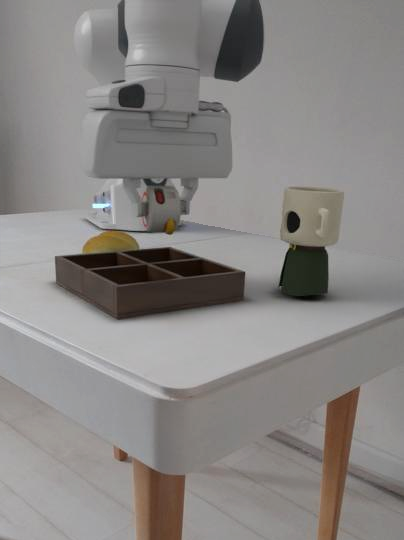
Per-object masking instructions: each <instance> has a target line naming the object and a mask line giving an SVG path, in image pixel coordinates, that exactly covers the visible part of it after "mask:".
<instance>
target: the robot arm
mask: <svg viewBox="0 0 404 540" xmlns="http://www.w3.org/2000/svg"><path fill="white" fill-rule="evenodd" d="M265 24H266V23H265V20H264V15H263V9H262V5H261V2H260V0H120V1H119V2H118V4H117V8H113V7H108V8H97V9H89V10H85V11H84V12H82V14H81V16H80V17H79V18H78V20H77V22H76V24H75V26H74V30H73V47H74V51H75V54H76V56H77V59H78V61H79V62H80V64H81V65H82V67H84V69H85V70H86V71H87V72H89V73H90V74H91V75H92V77H94V78H95V79H96V81H97V82H98V83H99V85H100V86H97V87H96V86H95V87H93V88H90V89H88V90H86V92H85V104H86V107H87V108H88V109H90V110H91V111H89V112H88V113H87V114H86V115H85V117H84V118H83V122H82V126H81V134H80V167H81V169H82V171H83V172H84V174H85V175H86V176H87V177H88V178H92V179H100V180H101V179H102V180H103V179H104V180H106V179H107V180H106V181H105V182H104V184H103V185H102V186H101V188H100V189H99V190H98V191H97V193H95V194H94V195H93V203H92V208H93V209H96V212H95V213H88V214H86V215H85V219H86V220H87V221H88V222H90V223H92V224H93V225H95V226H97V227H98V228H99V229H102V230H118V231H120V230H121V231H131V232H133V231H134V232H147V231H146V230H145V228H144V225H143V221H142V217H147V216H148V211H147V209H148V202H143V201H142V195H143V191H144V189H145V188H146V187H147V186H173V187H175V188H176V185H175V184H174V183H173V181H172V179H180V186H181V187H183V188H182V189H181V190H182V191H181V192H180V194H179V197H180V205H181V216H188V215H190V211H191V210H190V209H191V201H192V199H193V198H194V196H195V194H196V193H197V190H198V188H199V179H227V178H228V177H229V176H230V174H231V173H232V170H233V142H232V140H233V139H232V132H231V131H232V114H231V113H230V112H229V110H228V108H227V107H225V106H224V104H223V103H221V102H219V101H213V102H212V101H211V102H210V101H206V100H200V87H201V86H200V83H201V82H200V81H201V78H214V79H215V80H221V81H228V82H234V83H238V82H240V81H242V80H243V79H245V78H246V77H247V76H249V75H250V74H251V73H252V72H254V71H255V70H256V68H258V67H259V65H260V64H261V62H262V60H263V59H262V58H263V55H264V50H265V46H266V45H265V44H266V25H265ZM181 225H182V220H181V219H180V222H179V226H181Z"/></svg>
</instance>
